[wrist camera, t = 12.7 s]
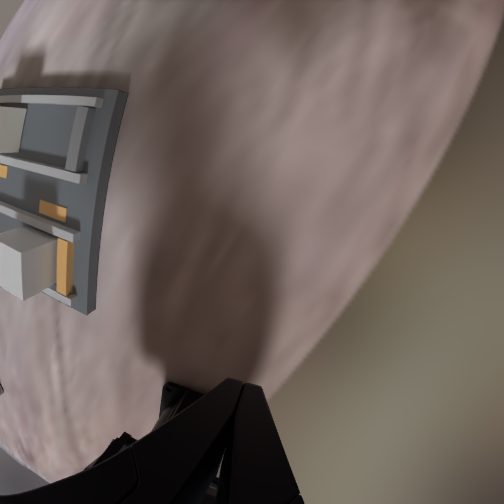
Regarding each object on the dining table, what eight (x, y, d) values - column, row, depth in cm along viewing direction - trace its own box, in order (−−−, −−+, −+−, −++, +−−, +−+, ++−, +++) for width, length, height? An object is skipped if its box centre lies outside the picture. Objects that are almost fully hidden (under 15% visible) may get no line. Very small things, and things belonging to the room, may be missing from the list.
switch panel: (95, 309, 22) (80, 319, 20) (-15, 249, 23) (-28, 254, 22) (128, 93, 17) (111, 87, 16) (1, 90, 19) (-14, 89, 17)
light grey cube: (58, 282, 21) (23, 301, 17) (26, 265, 21) (-8, 280, 17) (59, 238, 20) (21, 252, 16) (27, 225, 20) (-10, 236, 16)
